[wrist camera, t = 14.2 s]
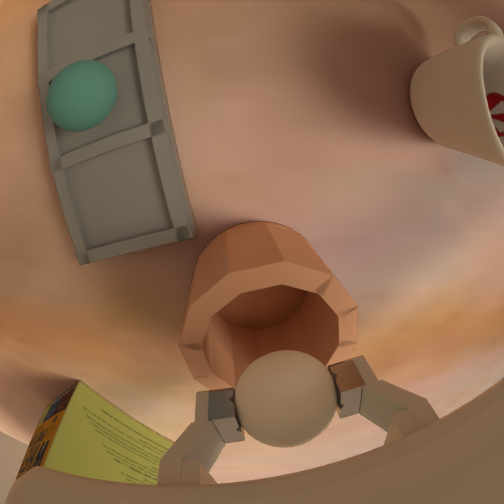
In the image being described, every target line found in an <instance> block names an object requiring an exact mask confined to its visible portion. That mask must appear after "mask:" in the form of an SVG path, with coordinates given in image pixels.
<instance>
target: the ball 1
mask: <svg viewBox="0 0 504 504" xmlns="http://www.w3.org/2000/svg"><path fill="white" fill-rule="evenodd" d="M116 97H117V83H116V79H115V76H114V75H113V73H112V71H111V70H110V69H109V68H108V67H107V66H106V65H104V64H103V63H101V62H98V61H94V60H81V61H77V62H74V63H72V64H70V65H68V66H66V67H65V68H64V69H62V70H61V71H60V72H59V73H58V74H57V75H56V76H55V78H54V79H53V81H52V82H51V84H50V86H49V89H48V93H47V98H46V105H47V111H48V114H49V116H50V118H51V119H52V121H53V122H54V123H55V124H56V125H57V126H58V127H60V128H62V129H64V130H67V131H71V132H80V131H85V130H88V129H91V128H93V127H95V126H97V125H98V124H99V123H101V122H102V121H103V120H104V119H105V118H106V117H107V116H108V115H109V113H110V112H111V110H112V108H113V106H114V104H115V101H116Z"/></svg>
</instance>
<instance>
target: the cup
mask: <svg viewBox="0 0 504 504" xmlns="http://www.w3.org/2000/svg"><path fill="white" fill-rule="evenodd" d="M482 31H488V34H485V35H482V36H480V37H477V38H475V39H472V40H470V39H471V38H472V37H473V36H474V35H475V34H477V33H479V32H482ZM410 100H411V105H412V109H413V112H414V115H415V117H416V119H417V121H418V123H419V125H420V126H421V128H422V129H423V130H424V132H425V133H426V134H427V135H428V136H429V137H430V138H431V139H433V140H434V141H435V142H437V143H439V144H440V145H442V146H445V147H447V148H450V149H453V150H457V151H460V152H463V153H467V154H470V155H473V156H476V157H479V158H482V159H485V160H488V161H491V162H494V163H497V164H499V165H502V166H504V34H503V32H502V30H501V29H500V27H499V26H498V25H497V24H496V23H495V22H494V21H492V20H491V19H490V18H488V17H485V16H474V17H471V18H469V19H467V20H465V21H464V22H462V23H461V24H460V25H459V26H458V28H457V29H456V31H455V34H454V48H451V49H449V50H447V51H445V52H443V53H441V54H438V55H436V56H434V57H432V58H430V59H428V60H426V61H425V62H423V63H422V64H421V65H420V66H419V67H418V68H417V69H416V71H415V72H414V74H413V77H412V80H411V84H410Z"/></svg>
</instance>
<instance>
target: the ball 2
mask: <svg viewBox="0 0 504 504" xmlns="http://www.w3.org/2000/svg"><path fill="white" fill-rule="evenodd" d="M337 397H338V396H337V391H336V387H335V381H334V379H333V377H332V375H331V373H330V372H329V370H328V369H327V368H326V367H325V366H324V364H322V363H321V362H320V361H319V360H317V359H316V358H314V357H312V356H310V355H309V354H306V353H303V352H299V351H293V350H282V351H276V352H272V353H269V354H266V355H264V356H262V357H260V358H258V359H257V360H255V361H254V362H253V363H251V364H250V365H249V366H248V367H247V368H246V369H245V371H244V372H243V373H242V375H241V377H240V378H239V380H238V383H237V385H236V388H235V394H234V405H235V408H236V411H237V415H238V420H239V422H240V423H241V425H242V427H243V428H244V429H245V430H246V432H247V433H248V434H249V435H251V436H252V437H253V438H254V439H256V440H258V441H260V442H262V443H264V444H267V445H270V446H274V447H295V446H299V445H302V444H305V443H307V442H309V441H311V440H313V439H314V438H316V437H317V436H319V435H320V434H321V433H322V432H323V431H324V430H325V429H326V428H327V426H328V425H329V423H330V422H331V420H332V418H333V416H334V414H335V411H336V407H337Z"/></svg>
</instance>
